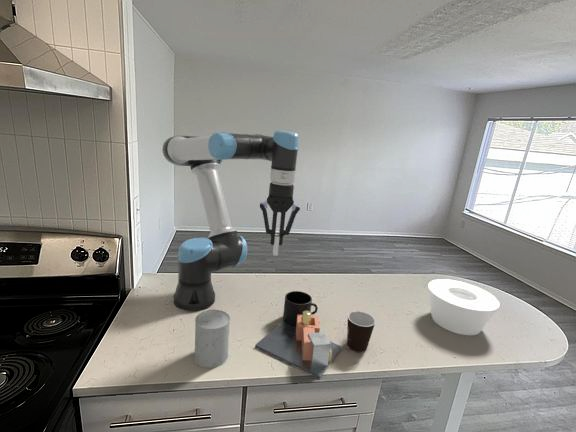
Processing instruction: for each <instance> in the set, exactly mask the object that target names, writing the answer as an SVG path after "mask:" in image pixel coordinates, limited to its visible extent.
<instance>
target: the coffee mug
mask: <svg viewBox="0 0 576 432" xmlns="http://www.w3.org/2000/svg"><path fill="white" fill-rule="evenodd" d="M375 325H376V319H375V317H374V316H372V315H371V314H370V313H368V312H365V311H360V310H354V311H351V312H349V313H348V314H347V329H346V330H347V331H346V332H347V333H346V334H347V335H346V346H347V347H348V349H350V350H351V351H353V352H355V353H364V352H366V351H367V349H368V346H369V343H370V340H371V337H372V334H373V331H374V327H375Z"/></svg>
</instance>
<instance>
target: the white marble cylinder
mask: <svg viewBox="0 0 576 432" xmlns="http://www.w3.org/2000/svg"><path fill="white" fill-rule="evenodd" d="M194 321H195V325H194V326H195V329H194V335H195V336H194V356H193V357H194V361H195V363H196V364H197V365H198V366H200V367H201V368H202V367H203V368H206V369H207V368H208V369H211V368H213V369H214V368H217V367H219V366H222V365H223V364H225V363H226V362H227V360H228V357H229V344H230V342H229V339H230V338H229V337H230V321H231V316H230V315H229V314H228V313H227V312H226V311H223V310H220V309H208V310H203V311H202V312H200V313H198V314H197V315H196V317H195V320H194Z"/></svg>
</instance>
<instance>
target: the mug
mask: <svg viewBox="0 0 576 432" xmlns="http://www.w3.org/2000/svg"><path fill="white" fill-rule="evenodd" d="M312 306H314V308H315V309H314V310H313V311H311V310H312ZM318 309H319V308H318V306H317V304H316V303H314V302H313V298H312V296H311V295H310V294H309V293H307V292H305V291H298V290H294V291H289V292H288V293H286V294H285V297H284V307H283V316H282V318H283V320H282V321H283V322H285V323H287V324H290V325H292V326H295V327H296V322H297V314H299V315H303V311H310V312H311V316H314V314H316V313H318Z"/></svg>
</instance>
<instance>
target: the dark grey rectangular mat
mask: <svg viewBox="0 0 576 432" xmlns="http://www.w3.org/2000/svg"><path fill="white" fill-rule="evenodd" d="M329 342H330V343H331V346H330V349H331V350H332V356H331V362H328V366H323V367H314V368H311V366H310V363H311V361H309V360H303V356H302V341H299V340H296V327H295V326H292V325H290V324H287V323H285V322H284V320H282V321H281V322H280V323H279V324H277V326H275V327H274V328H273V329H272V330H271V331H270V332H269V333H267V334H266V335H265V336H264V337H263V338H261V340H259V341H258V342H257V343H256V344H255V348H256V349H258V350H260V351H262V352H264V353H266V354H267V355H268V354H269V355H270V356H272V357H274V358H276V359H278V360H281V361H283V362H285V363H287V364H289V365H291V366H293V367H295V368H297V369H298V370H299V369H300V370H302V371H303V372H306V373H307V374H310V375H311V376H314V377H315V378H318V379H321V377H322V376H323V375H324V373H325V372H326V371H327V370H328V368H329V366H330V365H331V363H333V360H335V358H336V356H338V354H339V352H340V351H341V349H342V346H341V345H340V344H337V343H335V342H332V341H330V340H329Z"/></svg>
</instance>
